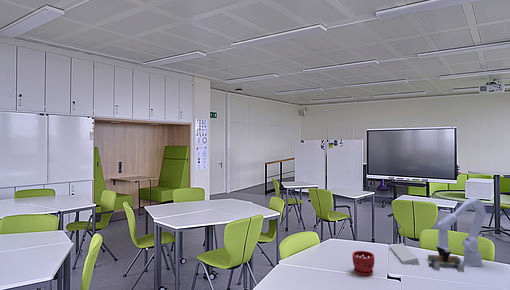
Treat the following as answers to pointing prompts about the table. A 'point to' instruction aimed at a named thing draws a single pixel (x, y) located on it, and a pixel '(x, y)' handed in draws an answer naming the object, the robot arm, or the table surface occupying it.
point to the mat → (440, 262)
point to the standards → (446, 265)
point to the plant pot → (363, 262)
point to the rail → (440, 258)
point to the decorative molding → (404, 254)
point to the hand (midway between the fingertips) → (443, 259)
